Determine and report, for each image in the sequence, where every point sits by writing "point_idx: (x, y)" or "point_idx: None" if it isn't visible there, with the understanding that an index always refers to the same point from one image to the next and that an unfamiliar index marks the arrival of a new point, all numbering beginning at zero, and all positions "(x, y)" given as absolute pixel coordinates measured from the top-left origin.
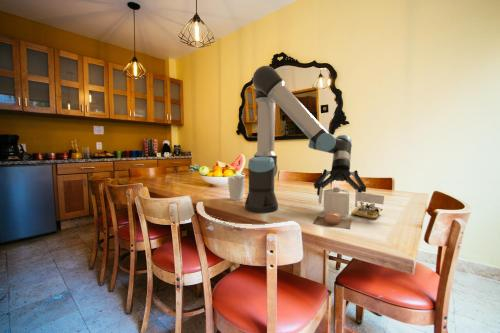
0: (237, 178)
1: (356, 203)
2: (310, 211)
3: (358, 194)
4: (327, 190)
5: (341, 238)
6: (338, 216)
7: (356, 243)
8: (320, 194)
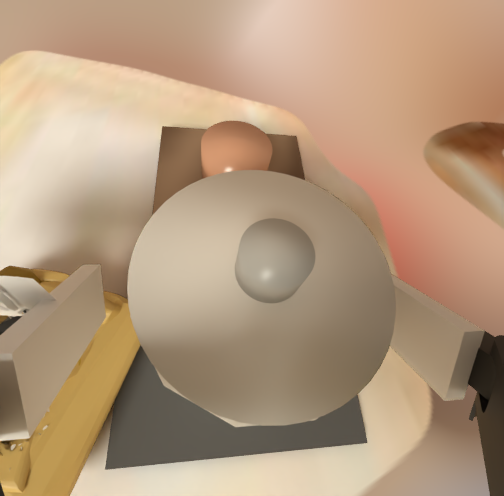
0: None
1: (89, 265)
2: (397, 360)
3: (24, 292)
4: (366, 286)
5: (189, 97)
6: (207, 131)
7: (148, 81)
8: (398, 285)
